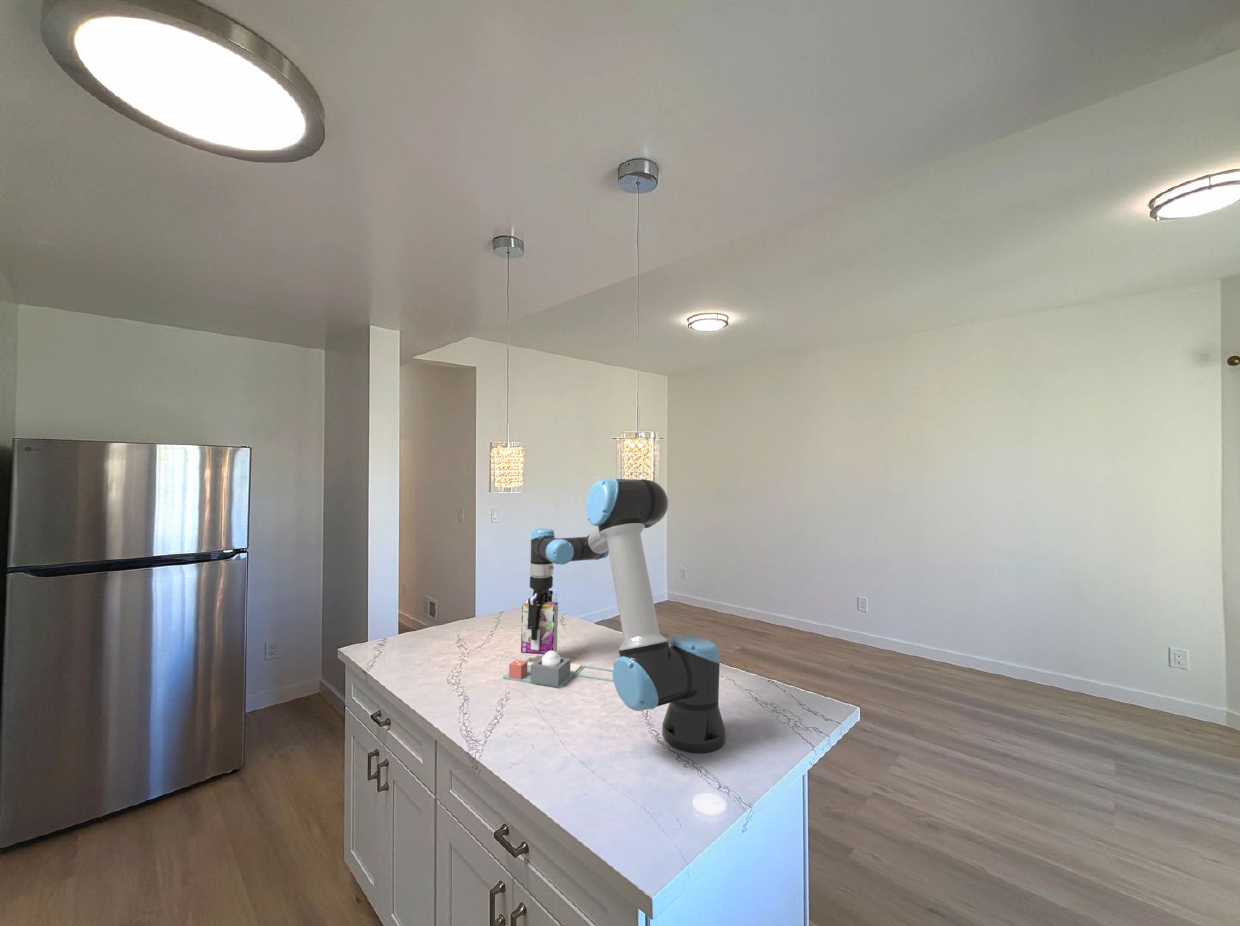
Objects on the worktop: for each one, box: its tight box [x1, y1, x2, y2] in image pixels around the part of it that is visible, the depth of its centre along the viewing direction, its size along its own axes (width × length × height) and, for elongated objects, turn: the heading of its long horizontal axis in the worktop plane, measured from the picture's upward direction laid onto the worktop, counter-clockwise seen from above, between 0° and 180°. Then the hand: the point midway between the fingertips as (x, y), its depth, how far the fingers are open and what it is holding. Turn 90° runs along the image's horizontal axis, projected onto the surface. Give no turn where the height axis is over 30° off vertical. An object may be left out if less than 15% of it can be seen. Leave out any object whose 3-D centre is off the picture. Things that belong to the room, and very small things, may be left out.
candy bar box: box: [520, 599, 559, 656], centre depth 164 cm, size 11×5×16 cm, turn 82°
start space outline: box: [573, 665, 614, 683], centre depth 157 cm, size 8×14×1 cm, turn 72°
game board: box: [502, 656, 583, 689], centre depth 157 cm, size 18×19×6 cm
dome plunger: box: [541, 651, 561, 667], centre depth 151 cm, size 6×6×6 cm
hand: (539, 646), depth 164 cm, fingers closed on candy bar box, 5 cm apart
